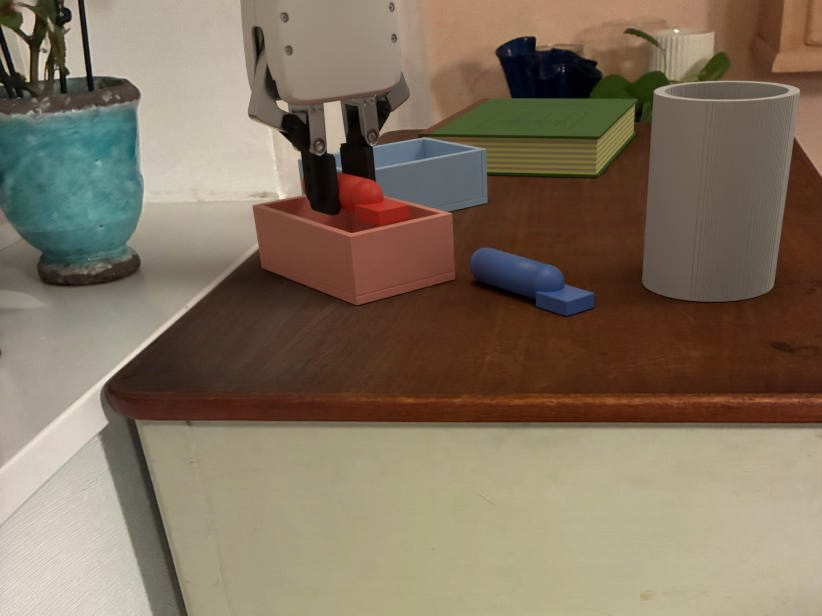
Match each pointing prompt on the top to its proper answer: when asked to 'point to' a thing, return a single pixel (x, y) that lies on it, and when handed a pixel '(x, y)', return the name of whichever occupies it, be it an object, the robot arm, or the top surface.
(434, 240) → the red bin
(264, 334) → the top surface
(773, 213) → the cup
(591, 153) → the hardcover book
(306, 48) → the robot arm
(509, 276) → the blue capsule with block
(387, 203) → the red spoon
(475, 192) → the blue bin
